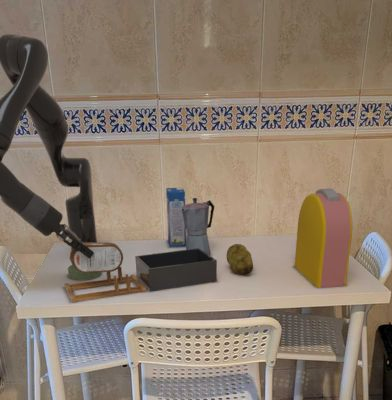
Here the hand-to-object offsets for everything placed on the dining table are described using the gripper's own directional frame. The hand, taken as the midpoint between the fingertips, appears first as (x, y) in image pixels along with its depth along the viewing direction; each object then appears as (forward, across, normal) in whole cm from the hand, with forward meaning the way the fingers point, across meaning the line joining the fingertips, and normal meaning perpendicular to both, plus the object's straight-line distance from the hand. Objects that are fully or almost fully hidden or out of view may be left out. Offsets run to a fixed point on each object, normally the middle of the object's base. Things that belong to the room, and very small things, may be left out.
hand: (90, 253), depth 143 cm
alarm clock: (+56, -15, -40) cm, 71 cm away
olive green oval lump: (+41, -1, -25) cm, 49 cm away
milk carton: (+37, +39, -20) cm, 57 cm away
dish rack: (+10, 0, +6) cm, 12 cm away
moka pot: (+38, +22, -22) cm, 49 cm away
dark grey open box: (+26, 0, -10) cm, 28 cm away
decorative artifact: (+8, +16, +8) cm, 20 cm away
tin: (+5, 0, +3) cm, 6 cm away
